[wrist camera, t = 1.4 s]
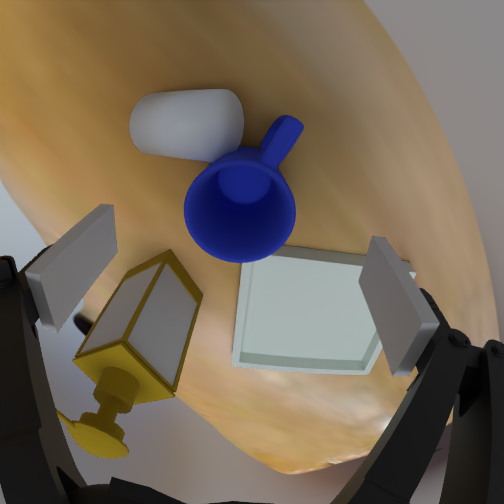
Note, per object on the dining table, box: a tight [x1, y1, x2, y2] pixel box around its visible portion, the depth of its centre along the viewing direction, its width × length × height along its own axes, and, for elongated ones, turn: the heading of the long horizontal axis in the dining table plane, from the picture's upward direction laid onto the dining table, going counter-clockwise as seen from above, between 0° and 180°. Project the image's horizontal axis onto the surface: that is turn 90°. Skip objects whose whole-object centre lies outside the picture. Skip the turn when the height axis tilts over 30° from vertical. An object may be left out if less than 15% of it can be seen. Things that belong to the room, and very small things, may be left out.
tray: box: [231, 245, 416, 375], centre depth 38 cm, size 18×20×3 cm
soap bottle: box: [56, 249, 203, 459], centre depth 27 cm, size 7×13×24 cm, turn 28°
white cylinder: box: [129, 89, 244, 163], centre depth 25 cm, size 6×6×8 cm
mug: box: [184, 115, 304, 263], centre depth 26 cm, size 8×12×10 cm
